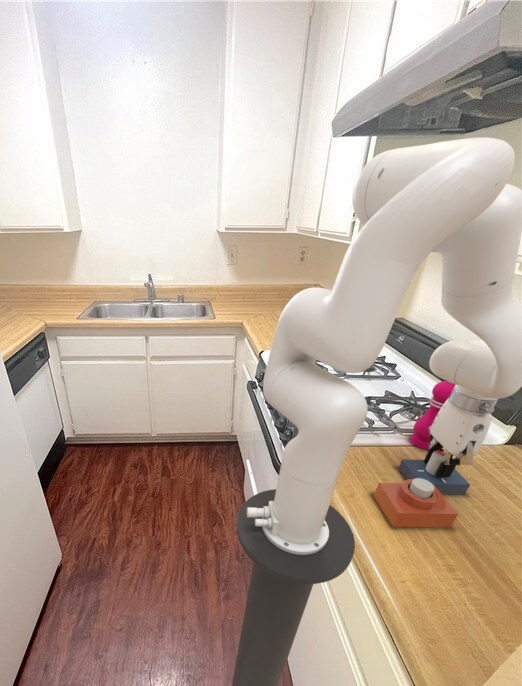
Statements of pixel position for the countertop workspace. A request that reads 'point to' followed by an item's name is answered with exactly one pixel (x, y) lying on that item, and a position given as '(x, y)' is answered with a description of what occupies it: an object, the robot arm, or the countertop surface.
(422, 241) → the robot arm
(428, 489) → the push button
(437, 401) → the pepper mill
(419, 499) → the orange button housing
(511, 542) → the countertop surface
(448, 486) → the tap panel
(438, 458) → the grey dial knob
